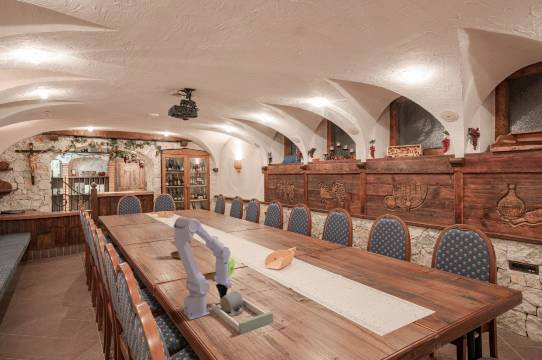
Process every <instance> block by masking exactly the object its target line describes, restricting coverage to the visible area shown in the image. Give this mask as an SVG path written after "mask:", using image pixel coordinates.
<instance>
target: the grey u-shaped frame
mask: <svg viewBox="0 0 542 360" xmlns="http://www.w3.org/2000/svg"><path fill="white" fill-rule="evenodd" d="M242 299H243V307H246V308H247V309H249V310H250V311H251V312H253V313H255V314H256V315H257V316H254V317H250V318H247V319H245V320H242V321H239V322H238V321H237V320H236V319H234V318H233V317H232V316H231V315H229V314H228V312H225V311H223V309H222V308H220V307H219V306H218V305H216V304H215V303H212V304H211V311H212V312H213V313H215V314H216V315H217V316H218V317H219V318H220V319H222V320H223V321H225V322H226V323H227V324H228V325H230V327H232V328H234V330H235V331H237V332H238V333H239V334H240V335H242V334H245V333H248V332H250V331H253V330H257V329H258V328H259V329H260V328H262V327H264V326H267V325H270V324H273V323H274V313H273V311H269V312H267V311H265V310H263V309H262V308H261V307H259V306H257V305H256V304H254V303H253V302H251V301H249V300H247V298H244V297H243V296H242Z"/></svg>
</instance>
